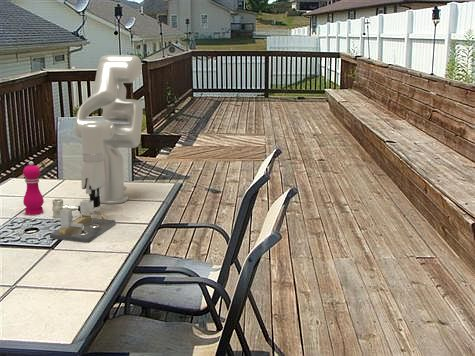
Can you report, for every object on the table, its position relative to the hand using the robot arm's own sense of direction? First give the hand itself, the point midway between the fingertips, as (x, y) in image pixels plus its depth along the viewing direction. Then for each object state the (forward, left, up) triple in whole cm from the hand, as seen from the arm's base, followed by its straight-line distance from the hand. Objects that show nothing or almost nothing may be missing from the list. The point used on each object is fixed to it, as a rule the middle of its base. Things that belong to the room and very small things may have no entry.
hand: (95, 206), depth 213 cm
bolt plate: (+14, +3, -5) cm, 15 cm away
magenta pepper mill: (+1, -25, -5) cm, 25 cm away
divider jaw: (+6, +2, -3) cm, 7 cm away
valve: (+1, -10, -5) cm, 11 cm away
